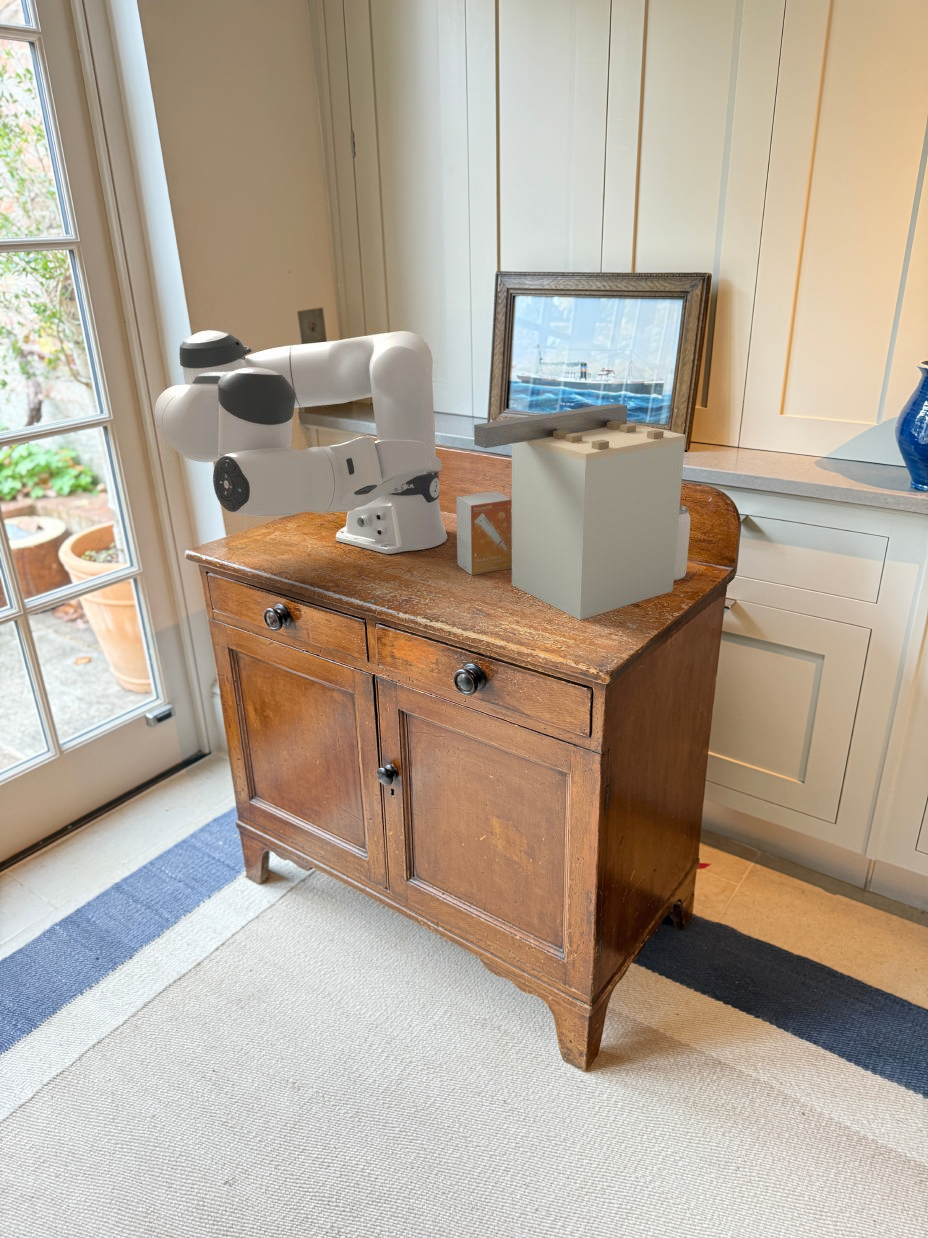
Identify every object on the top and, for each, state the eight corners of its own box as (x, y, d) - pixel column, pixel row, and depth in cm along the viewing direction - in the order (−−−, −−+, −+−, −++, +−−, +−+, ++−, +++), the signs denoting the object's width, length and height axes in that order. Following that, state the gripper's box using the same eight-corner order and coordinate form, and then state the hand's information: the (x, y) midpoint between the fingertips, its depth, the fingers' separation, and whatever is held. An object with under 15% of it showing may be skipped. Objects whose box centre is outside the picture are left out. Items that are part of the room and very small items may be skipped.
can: (688, 571, 149) (694, 505, 144) (681, 583, 144) (687, 516, 139) (652, 566, 151) (656, 501, 146) (643, 579, 146) (648, 512, 141)
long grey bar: (485, 448, 125) (485, 427, 124) (474, 444, 127) (474, 424, 126) (626, 423, 139) (627, 405, 137) (614, 421, 141) (614, 402, 140)
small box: (471, 576, 149) (470, 505, 144) (457, 565, 154) (455, 496, 149) (512, 568, 152) (512, 498, 147) (496, 558, 157) (496, 489, 152)
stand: (580, 620, 131) (586, 446, 120) (511, 585, 145) (511, 427, 134) (672, 591, 141) (686, 428, 130) (600, 560, 155) (607, 411, 144)
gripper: (309, 521, 123) (389, 515, 131) (378, 479, 107) (465, 475, 115) (300, 479, 123) (380, 476, 131) (368, 431, 107) (455, 430, 115)
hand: (420, 475), depth 123 cm, fingers open, 8 cm apart
